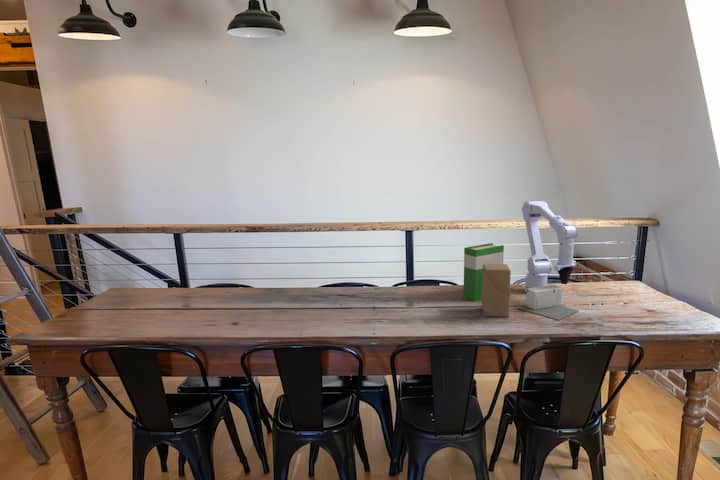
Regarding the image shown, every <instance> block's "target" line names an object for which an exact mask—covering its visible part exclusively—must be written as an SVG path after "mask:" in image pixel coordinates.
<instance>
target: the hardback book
mask: <svg viewBox="0 0 720 480" xmlns="http://www.w3.org/2000/svg"><path fill="white" fill-rule="evenodd" d="M504 246H505V245H501V244H500V245H494V243H493V242H491V243H485V244H477V245H472V246H466V247H463V251H464V253H463V255H464V257H463V299H466V300H469V301H471V302H474V303H476V302H478V301H479V302H480V301H482V287H483V264H504V254H505V253H504V249H505V247H504Z"/></svg>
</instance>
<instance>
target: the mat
mask: <svg viewBox="0 0 720 480" xmlns="http://www.w3.org/2000/svg"><path fill="white" fill-rule="evenodd" d="M518 310H521V311H525V312H527V313H531V314H535V315H538V316H541V317H545V318H548V319H552V320H556V321H558V322H559V321H561V320H563V319H565V318H568V317H570V316H572V315H574V314H577V313H579V311H580V310H578V309H575V308H570V307H567V306H563V305H561V306H556V307H549V308H542V309H536V310H534V309H531V308H529V307H527V306H526V304H525V305H524V306H521V307H518Z"/></svg>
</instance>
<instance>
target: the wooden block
mask: <svg viewBox="0 0 720 480" xmlns="http://www.w3.org/2000/svg"><path fill="white" fill-rule="evenodd" d="M511 272H512V271H511V269H510V267H509V265H508V264H506V263H503V264H483V287H482V300H481V309H482V313H483V316H484V317H501V318H502V317H504V318H505V317H506V318H508V317H509V316H510V301H511V300H510V299H511V298H510V295H511V276H512V275H511Z"/></svg>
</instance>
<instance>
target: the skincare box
mask: <svg viewBox="0 0 720 480" xmlns="http://www.w3.org/2000/svg"><path fill="white" fill-rule="evenodd" d="M563 290H564V289H563V287H560V286H557V285H555V284H551V285H549V284H548V285H547V286H541V287H534V288H527V292H526V294H525V305H526V306H527V307H529V308H531V309H534V310H536V309H542V308H549V307H556V306H563Z"/></svg>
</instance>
